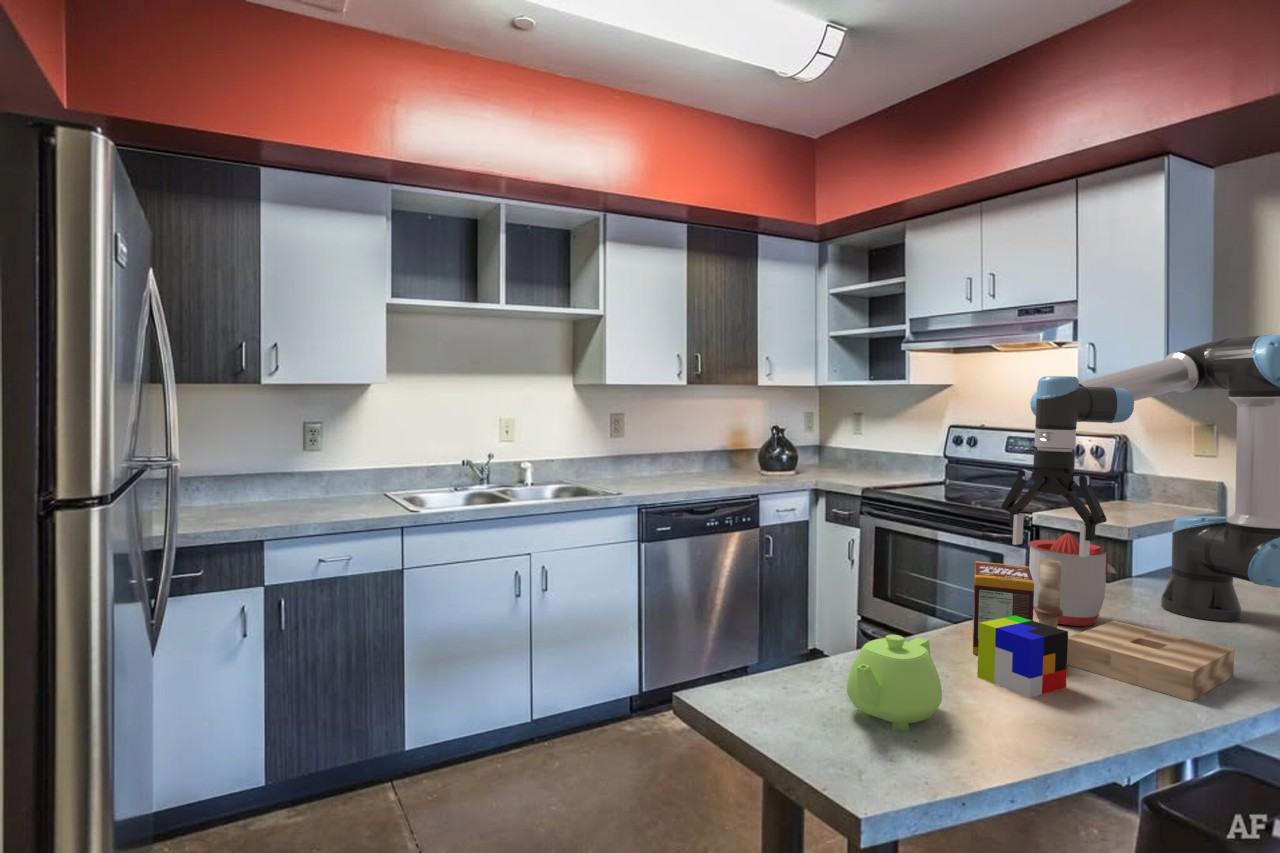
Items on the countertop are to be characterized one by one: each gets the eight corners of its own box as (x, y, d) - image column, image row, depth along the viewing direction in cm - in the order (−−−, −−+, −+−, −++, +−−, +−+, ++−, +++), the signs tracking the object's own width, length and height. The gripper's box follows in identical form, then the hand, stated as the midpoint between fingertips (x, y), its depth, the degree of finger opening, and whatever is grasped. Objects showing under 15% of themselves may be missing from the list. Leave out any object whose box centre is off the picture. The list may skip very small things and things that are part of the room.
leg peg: (1041, 630, 157) (1043, 557, 156) (1066, 637, 152) (1069, 562, 152) (1028, 634, 154) (1031, 560, 153) (1054, 641, 149) (1057, 565, 149)
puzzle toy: (1029, 698, 121) (1031, 639, 121) (977, 677, 130) (979, 622, 130) (1065, 687, 126) (1068, 631, 125) (1013, 668, 135) (1015, 615, 134)
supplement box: (1026, 639, 151) (1029, 565, 150) (1032, 663, 137) (1035, 582, 136) (972, 632, 155) (974, 560, 155) (972, 654, 141) (974, 576, 141)
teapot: (898, 751, 102) (900, 664, 101) (818, 718, 112) (820, 638, 112) (964, 712, 115) (966, 635, 114) (887, 686, 125) (889, 614, 125)
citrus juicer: (1123, 635, 154) (1127, 542, 153) (1032, 625, 160) (1035, 536, 159) (1104, 614, 169) (1107, 530, 168) (1021, 606, 175) (1024, 524, 174)
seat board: (1112, 644, 148) (1113, 620, 148) (1233, 676, 132) (1234, 649, 132) (1064, 663, 137) (1065, 637, 137) (1190, 701, 120) (1192, 671, 120)
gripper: (987, 445, 160) (983, 540, 160) (1111, 454, 139) (1106, 563, 140) (1005, 445, 164) (1001, 537, 165) (1129, 453, 143) (1123, 559, 144)
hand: (1049, 550), depth 152 cm, fingers open, 13 cm apart
